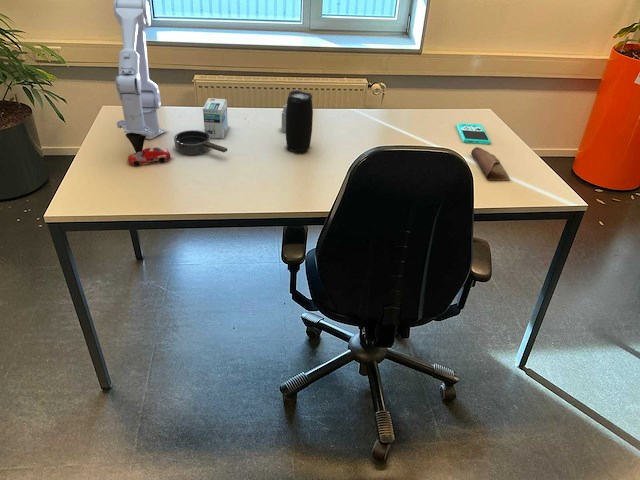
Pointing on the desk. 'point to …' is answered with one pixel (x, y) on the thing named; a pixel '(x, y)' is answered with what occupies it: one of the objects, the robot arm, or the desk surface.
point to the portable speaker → (299, 121)
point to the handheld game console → (473, 133)
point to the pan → (191, 142)
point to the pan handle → (215, 147)
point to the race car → (149, 156)
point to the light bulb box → (215, 117)
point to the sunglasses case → (489, 165)
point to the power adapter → (284, 118)
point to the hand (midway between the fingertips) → (139, 153)
